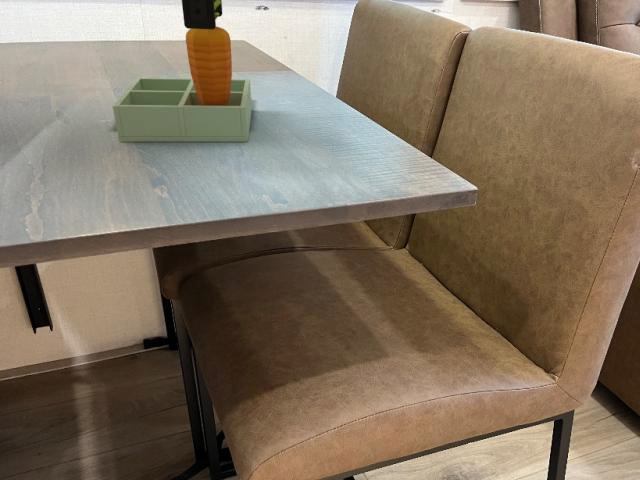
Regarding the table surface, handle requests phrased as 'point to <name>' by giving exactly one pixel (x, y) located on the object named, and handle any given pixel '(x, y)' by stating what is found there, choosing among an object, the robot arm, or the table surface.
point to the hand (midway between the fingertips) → (204, 21)
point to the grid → (181, 113)
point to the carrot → (210, 63)
